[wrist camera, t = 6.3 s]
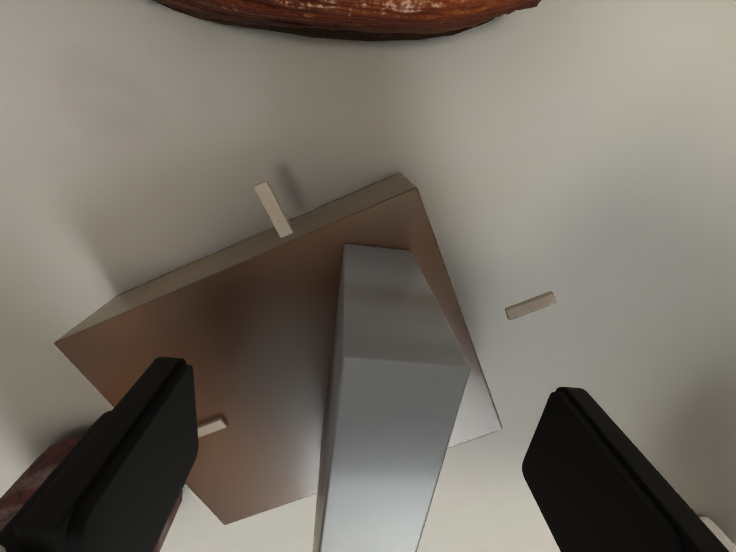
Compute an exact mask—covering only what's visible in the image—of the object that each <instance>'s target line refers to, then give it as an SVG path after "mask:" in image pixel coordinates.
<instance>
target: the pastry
mask: <svg viewBox="0 0 736 552" xmlns="http://www.w3.org/2000/svg"><path fill="white" fill-rule="evenodd" d="M153 1H156V2H158V3H160V4H162V5H164V6H167V7H169V8H171V9H173V10H175V11H178V12H181V13H184V14H187V15H190V16H193V17H196V18H199V19H203V20H207V21H211V22H216V23H220V24H224V25H232V26H240V27H247V28H254V29H262V30H269V31H277V32H284V33H290V34H296V35H302V36H308V37H318V38H331V39H345V40H360V41H385V40H420V39H427V38H434V37H441V36H449V35H454V34H457V33H460V32H462V31H465V30H468V29H471V28H473V27H476V26H479V25H481V24H484V23H487V22H489V21H491V20H493V19H494V18H495V17H498V16H502V15H503V14H510V13H511V12H514V11H515V10H521V9H527V8H533V7H536V6H537V5H538V3H539V2H540V1H541V0H153Z"/></svg>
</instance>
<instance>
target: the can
mask: <svg viewBox="0 0 736 552" xmlns="http://www.w3.org/2000/svg"><path fill="white" fill-rule="evenodd" d="M84 434H85V433H82V434H79V435H76V436H74V437H71V438H68V439H66V440H64V441H61V442H59V443H57V444H54V445H52V446H50V447H49V448H47V449H46V450H45V451H44V452H43V453H42V454H41V455H40V456H39V457H38V458H37V459H36V460H35V462H34V463H33V464H32V465H31V466H30V467H29V468H28V469H27V470H26V471H25V472H24V473H23V475H22V476H21V477H20V478H19V479H18V480H17V481H16V482H15V483H14V484H13V485H12V486H11V488H10V489H9V490H8V491H7V492H6V493H5V494H4V495H3V496H2V497H1V498H0V532H1V530H2V529H3V528H4V527H5V526H6V525H7V524H8V522H9V521H10V520H11V519H12V518H13V517H14V515H15V514H16V513H17V512H18V511H19V510H20V509H21V507H22V506H23V505H24V504H25V503H26V502H27V500H28V499H29V498H30V497H31V496H32V495H33V493H34V492H35V491H36V490H37V489H38V488H39V487H40V485H41V484H42V483H43V482H44V481H45V480H46V478H47V477H48V476H49V475H50V474H51V473H52V471H53V470H54V469H55V468H56V467H57V466H58V465H59V463H60V462H61V461H62V460H63V459H64V458H65V456H66V455H67V454H68V453H69V452H70V451H71V450H72V448H73V447H74V446H75V445H76V444H77V443H78V441H79V440H80V439H81V438H82V437H83V436H84ZM181 501H182V490H181V492H180V495H179V497H178V499H177V501H176V503H175V505H174V507H173V510H172V512H171V514H170V516H169V518H168V520H167V523H166V525H165V527H164V529H163V531H162V533H161V535H160V538H159V540H158V542H157V544H156V546H155V548H154V550H153V552H160V549H161V547H162V545H163V543H164V540H165V538H166V536H167V533H168V531H169V529H170V526H171V524H172V522H173V520H174V517H175V515H176V513H177V510H178V508H179V506H180V503H181Z"/></svg>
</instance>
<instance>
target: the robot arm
mask: <svg viewBox="0 0 736 552" xmlns="http://www.w3.org/2000/svg"><path fill="white" fill-rule="evenodd" d="M198 448H199V441H198V428H197V414H196V400H195V386H194V372H193V366H192V365H187V364H186V360H185V359H184V358H175V357H162V356H160V357H157V358H156V359H155V360H154V361H153V362H152V363H151V365H150V366H149V367H148V368H147V369H146V371H145V372H144V373H143V374H142V375H141V377H140V378H139V379H138V380H137V381H136V383H135V384H134V385H133V386H132V387H131V388H130V390H129V391H128V392H127V393H126V394H125V396H124V397H123V398H122V399H121V400H120V402H119V403H118V404H117V405H116V406H115V407H114V409H113V410H112V411H108V412H106V413H104V414H103V415H102V416H101V417H100V418H99V419H97V421H96V422H95V423H94V424H93V425H92V426H91V428H90V429H89V430H88V431H87V432H86V433H85V434H84V436H83V437H82V438H81V439H80V440H79V441H78V443H77V444H76V445H75V446H74V447H73V448H72V450H71V451H70V452H69V453H68V454H67V455H66V456H65V458H64V459H63V460H62V461H61V462H60V463H59V465H58V466H57V467H56V468H55V469H54V470H53V471H52V473H51V474H50V475H49V476H48V477H47V478H46V480H45V481H44V482H43V483H42V484H41V485H40V487H39V488H38V489H37V490H36V491H35V492H34V493H33V495H32V496H31V497H30V498H29V499H28V500H27V502H26V503H25V504H24V505H23V506H22V507H21V509H20V510H19V511H18V512H17V513H16V514H15V515H14V517H13V518H12V519H11V520H10V521H9V522H8V524H7V525H6V526H5V527H4V528H3V529H2V530H1V532H0V552H153V550H154V548H155V546H156V544H157V542H158V540H159V538H160V535H161V533H162V531H163V529H164V527H165V525H166V523H167V520H168V518H169V516H170V514H171V512H172V510H173V507H174V505H175V503H176V501H177V499H178V497H179V495H180V492H181V490H182V488H183V486H184V484H185V482H186V479H187V477H188V475H189V473H190V471H191V469H192V467H193V464H194V462H195V460H196V457H197V453H198ZM522 472H523V476H524V478H525V480H526V482H527V484H528V486H529V488H530V490H531V492H532V494H533V496H534V498H535V500H536V502H537V504H538V506H539V508H540V510H541V512H542V514H543V517H544V519H545V521H546V523H547V525H548V527H549V529H550V531H551V533H552V535H553V537H554V539H555V541H556V543H557V545H558V547H559V549H560V551H561V552H730V551H729V550H728V549H727V548H726V547H725V546H724V545H723V544H722V542H721V541H720V540H719V539H718V538H717V537H716V536H715V535H714V534H713V532H712V531H711V530H710V529H709V528H708V527H707V526H706V525H705V523H704V522H703V521H702V520H701V519H700V518H699V517H698V516H697V514H696V513H695V512H694V511H693V510H692V509H691V508H690V507H689V506H688V504H687V503H686V502H685V501H684V500H683V499H682V498H681V497H680V495H679V494H678V493H677V492H676V491H675V490H674V489H673V488H672V486H671V485H670V484H669V483H668V482H667V481H666V480H665V479H664V478H663V476H662V475H661V474H660V473H659V472H658V471H657V470H656V469H655V467H654V466H653V465H652V464H651V463H650V462H649V461H648V460H647V458H646V457H645V456H644V455H643V454H642V453H641V452H640V451H639V450H638V448H637V447H636V446H635V445H634V444H633V443H632V442H631V441H630V439H629V438H628V437H627V436H626V435H625V434H624V433H623V432H622V430H621V429H620V428H619V427H618V426H617V425H616V424H615V423H614V422H613V420H612V419H611V418H610V417H609V416H608V415H607V414H606V413H605V411H604V410H603V409H602V408H601V407H600V406H599V405H598V404H597V403H596V401H595V400H594V399H593V398H592V397H591V396H590V395H589V394H588V392H586V391H585V390H584V389H581V388H571V387H559V388H558V389H556V391H555V392H552V393H551V394H550V396H549V399H548V401H547V404H546V406H545V408H544V411H543V413H542V416H541V418H540V421H539V423H538V426H537V428H536V431H535V433H534V436H533V438H532V440H531V443H530V445H529V448H528V450H527V453H526V455H525V458H524V460H523V463H522Z"/></svg>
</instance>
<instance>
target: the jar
mask: <svg viewBox="0 0 736 552" xmlns="http://www.w3.org/2000/svg"><path fill="white" fill-rule="evenodd" d="M699 518H700V519H701V520H702V521H703V522H704V523H705V525H706V526H707V527H708V528H709V529H710V530H711V531H712V532H713V534H714V535H715V536H716V537H717V538H718V539H719V540H720V541H721V542H722V544H723V545H724V546H725V547H726V548H727V549H728V550H729V551H730V552H736V545H735V543H734V542H733V541H732V540H731V539H730V538H729V537H728V536H727V535H726V534H725V533H724V532H723V531H722V530H721V529H720V528H719V527H718V526H717V525H716V524H715V523H714V522H713V521H712V520H711V519H709V518H707V517H699Z"/></svg>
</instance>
